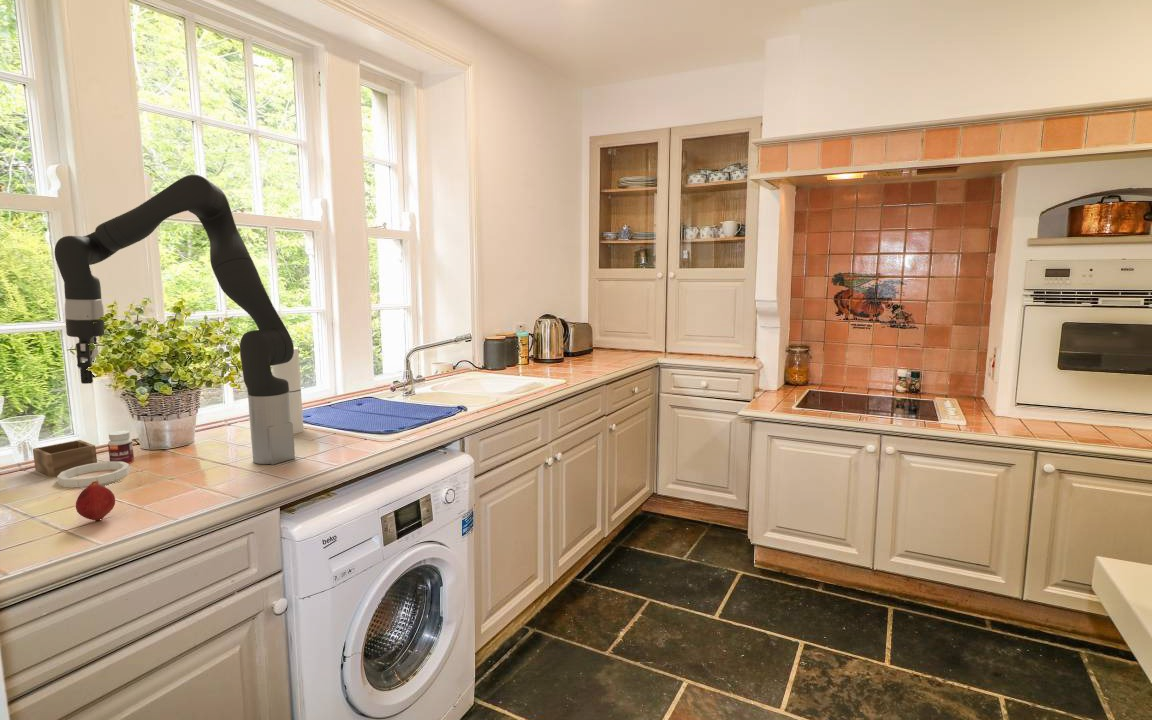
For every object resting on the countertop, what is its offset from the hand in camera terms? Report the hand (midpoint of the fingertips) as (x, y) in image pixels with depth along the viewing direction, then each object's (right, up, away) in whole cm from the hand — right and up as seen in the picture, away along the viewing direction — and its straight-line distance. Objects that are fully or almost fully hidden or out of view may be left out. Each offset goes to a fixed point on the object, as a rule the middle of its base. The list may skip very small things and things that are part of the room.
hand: (89, 380), depth 151 cm
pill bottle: (+13, -21, -6) cm, 25 cm away
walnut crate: (+3, -21, -10) cm, 24 cm away
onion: (+33, -26, -38) cm, 56 cm away
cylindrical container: (+39, -16, +26) cm, 50 cm away
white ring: (+15, -22, -16) cm, 31 cm away
